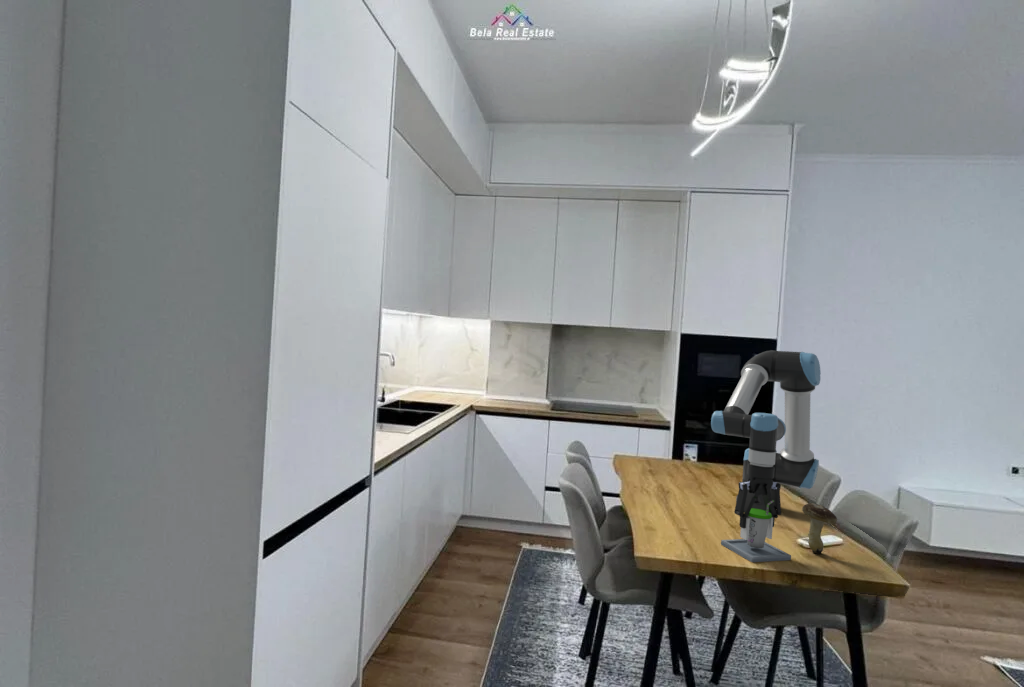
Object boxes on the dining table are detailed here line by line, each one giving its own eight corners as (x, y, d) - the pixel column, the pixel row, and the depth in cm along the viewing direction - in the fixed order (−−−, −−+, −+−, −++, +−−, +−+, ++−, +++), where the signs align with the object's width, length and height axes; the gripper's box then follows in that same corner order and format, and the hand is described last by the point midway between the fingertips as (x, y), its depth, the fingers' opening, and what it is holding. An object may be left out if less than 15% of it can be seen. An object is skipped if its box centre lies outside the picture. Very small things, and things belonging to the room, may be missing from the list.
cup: (736, 541, 174) (739, 493, 174) (754, 539, 177) (758, 492, 177) (756, 551, 167) (759, 501, 167) (775, 549, 170) (778, 499, 170)
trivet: (758, 542, 181) (758, 538, 181) (790, 560, 167) (791, 555, 167) (720, 544, 177) (721, 539, 177) (751, 562, 163) (751, 557, 163)
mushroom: (793, 546, 179) (796, 500, 179) (818, 547, 180) (822, 501, 180) (811, 558, 170) (815, 509, 170) (838, 559, 170) (842, 510, 170)
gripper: (780, 461, 178) (775, 532, 179) (724, 461, 172) (719, 534, 173) (798, 466, 171) (792, 541, 171) (741, 466, 165) (735, 543, 165)
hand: (756, 537), depth 172 cm, fingers open, 8 cm apart
